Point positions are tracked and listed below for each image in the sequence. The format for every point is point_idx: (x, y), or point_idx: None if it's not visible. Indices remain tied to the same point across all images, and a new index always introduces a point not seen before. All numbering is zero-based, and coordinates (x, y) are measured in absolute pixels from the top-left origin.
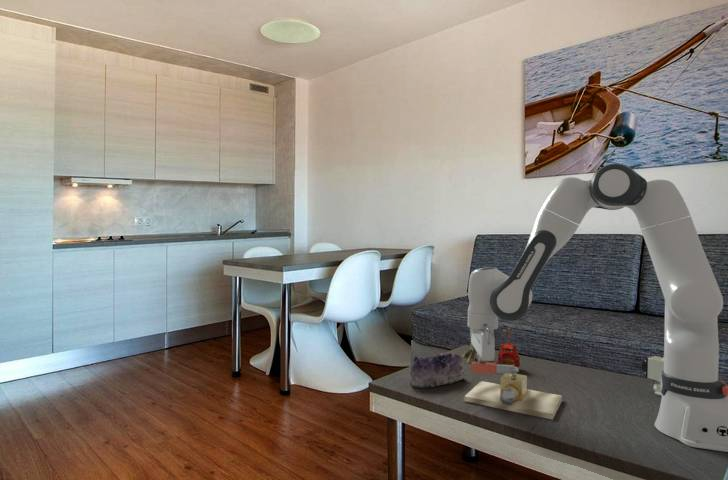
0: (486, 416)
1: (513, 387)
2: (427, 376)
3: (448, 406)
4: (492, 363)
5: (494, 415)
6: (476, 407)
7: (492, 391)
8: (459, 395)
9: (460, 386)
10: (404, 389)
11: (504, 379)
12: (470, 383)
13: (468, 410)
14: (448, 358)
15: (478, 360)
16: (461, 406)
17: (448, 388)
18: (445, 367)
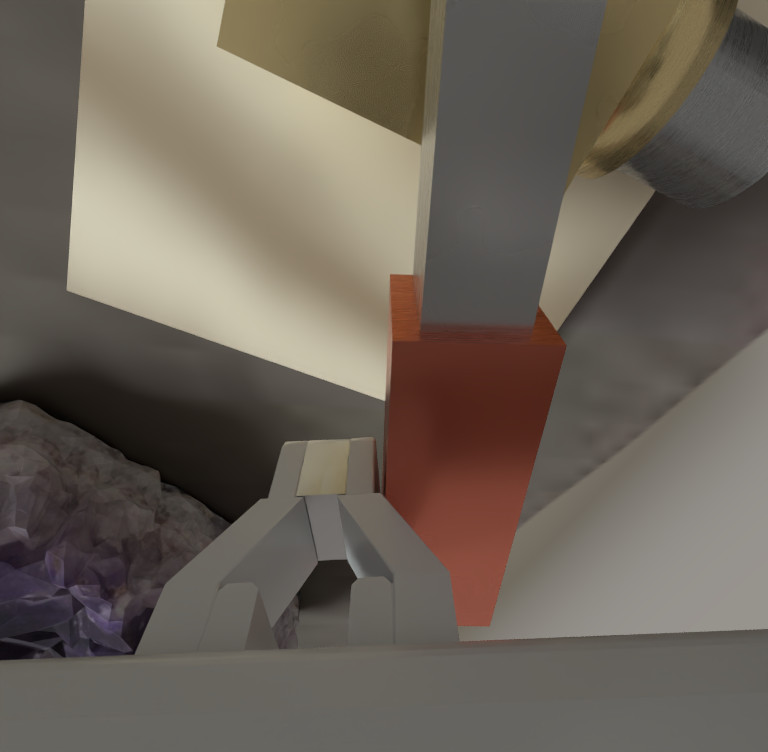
0: (757, 305)
1: (703, 7)
2: (274, 631)
3: (561, 489)
4: (450, 404)
5: (755, 247)
6: (586, 352)
7: (342, 219)
8: (369, 431)
9: (182, 417)
10: (335, 633)
11: (587, 147)
12: (75, 349)
13: (633, 400)
14: (2, 637)
15: (315, 565)
16: (564, 431)
17: (253, 480)
18: (151, 605)
